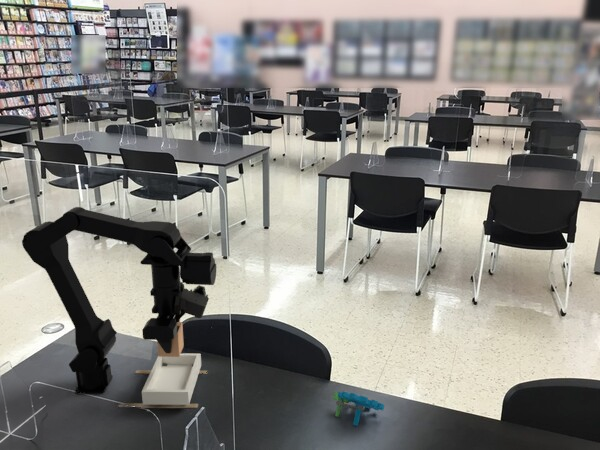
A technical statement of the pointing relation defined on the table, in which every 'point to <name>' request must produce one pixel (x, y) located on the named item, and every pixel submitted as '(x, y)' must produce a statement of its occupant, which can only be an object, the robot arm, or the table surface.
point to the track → (159, 405)
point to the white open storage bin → (172, 380)
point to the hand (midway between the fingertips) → (170, 346)
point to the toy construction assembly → (359, 402)
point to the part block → (174, 344)
